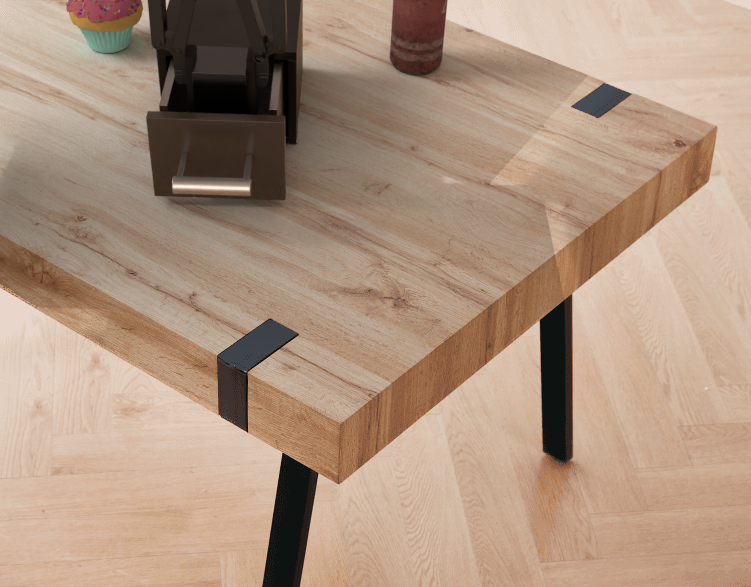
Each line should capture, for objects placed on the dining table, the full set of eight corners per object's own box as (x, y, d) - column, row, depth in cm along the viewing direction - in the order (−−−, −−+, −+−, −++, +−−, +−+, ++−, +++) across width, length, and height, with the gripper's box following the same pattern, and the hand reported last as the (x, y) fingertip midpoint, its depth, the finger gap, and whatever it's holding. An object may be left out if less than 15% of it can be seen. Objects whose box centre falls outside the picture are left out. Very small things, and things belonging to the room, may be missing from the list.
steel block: (195, 127, 103) (191, 72, 99) (201, 99, 107) (197, 45, 103) (247, 129, 104) (245, 74, 100) (251, 101, 107) (250, 47, 103)
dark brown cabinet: (296, 144, 113) (296, 52, 106) (164, 139, 113) (155, 47, 106) (302, 67, 125) (302, -20, 118) (183, 63, 125) (176, -25, 117)
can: (403, 44, 130) (411, -68, 121) (449, 60, 128) (461, -53, 119) (378, 65, 126) (384, -49, 117) (425, 81, 124) (435, -34, 115)
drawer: (282, 236, 100) (281, 157, 94) (145, 232, 100) (136, 152, 94) (292, 118, 115) (292, 44, 109) (174, 114, 115) (167, 39, 109)
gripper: (320, -140, 93) (317, 94, 108) (109, -148, 92) (137, 88, 108) (317, -106, 87) (315, 136, 103) (93, -115, 87) (125, 130, 102)
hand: (224, 111), depth 105 cm, fingers closed on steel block, 5 cm apart
